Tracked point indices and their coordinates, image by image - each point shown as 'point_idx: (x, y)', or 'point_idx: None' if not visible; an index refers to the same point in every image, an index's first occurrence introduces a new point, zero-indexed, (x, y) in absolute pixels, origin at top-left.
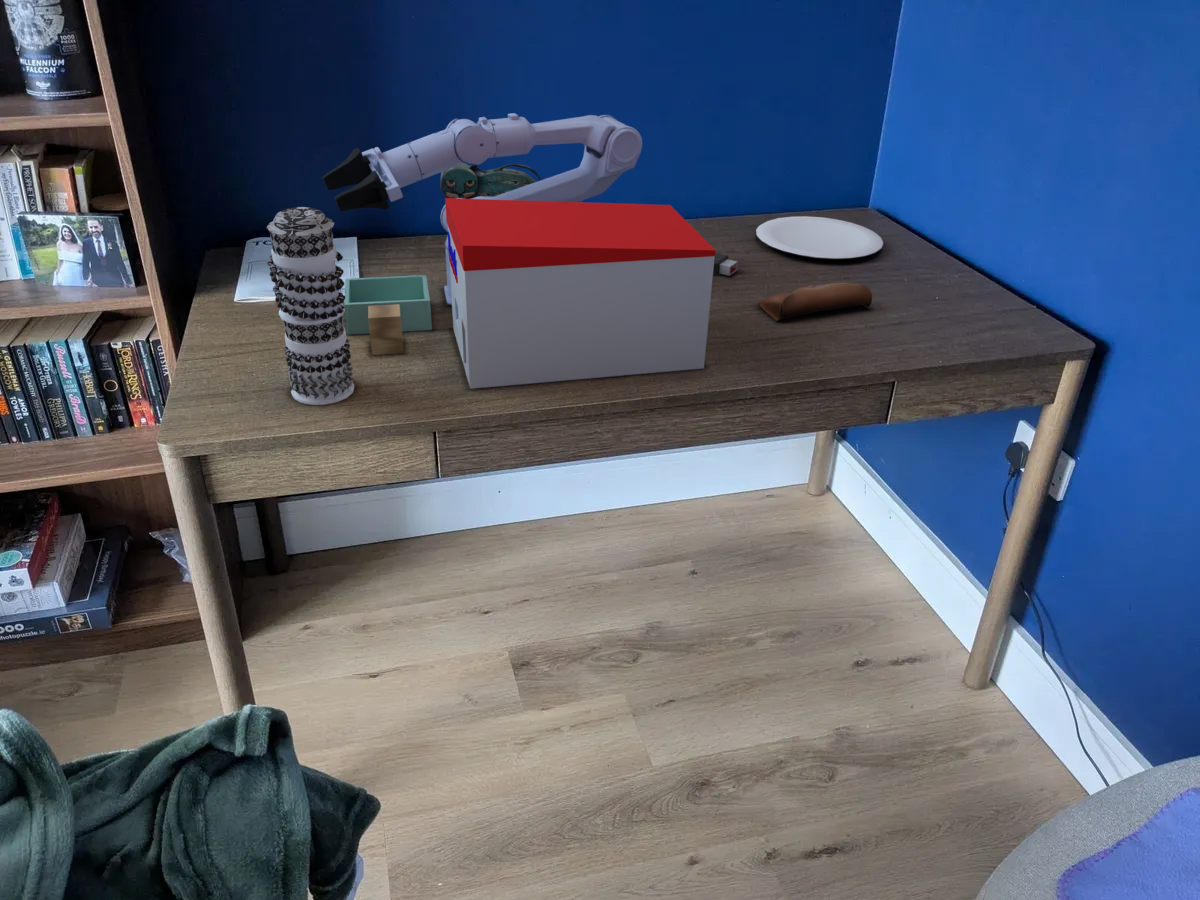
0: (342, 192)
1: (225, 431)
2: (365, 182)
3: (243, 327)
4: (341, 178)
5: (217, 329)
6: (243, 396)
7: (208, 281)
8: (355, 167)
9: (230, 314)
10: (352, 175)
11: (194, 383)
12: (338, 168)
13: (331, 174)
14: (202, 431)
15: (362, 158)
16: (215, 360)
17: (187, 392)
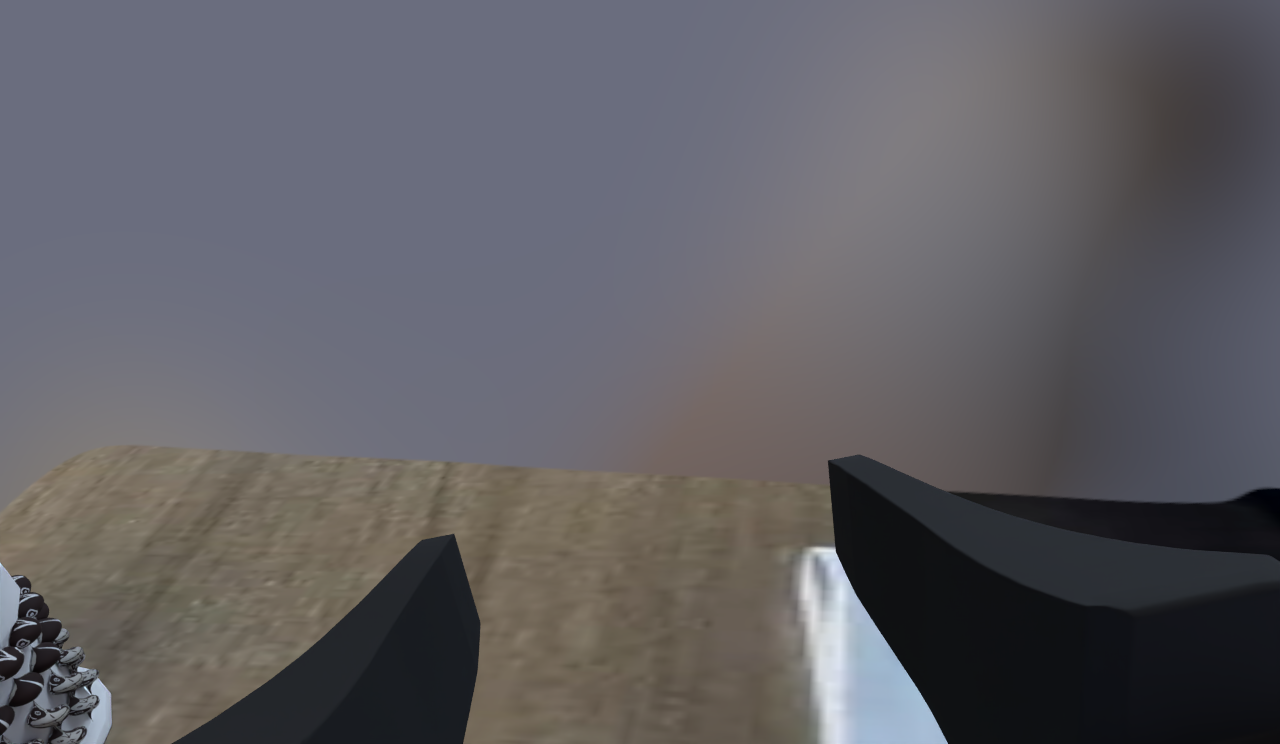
0: (427, 562)
1: (17, 525)
2: (254, 715)
3: (605, 565)
4: (899, 593)
5: (612, 512)
6: (161, 559)
7: (968, 493)
8: (1001, 672)
9: (711, 538)
10: (958, 684)
11: (314, 475)
12: (902, 506)
13: (856, 489)
14: (64, 490)
15: (1102, 710)
16: (416, 508)
17: (278, 466)
